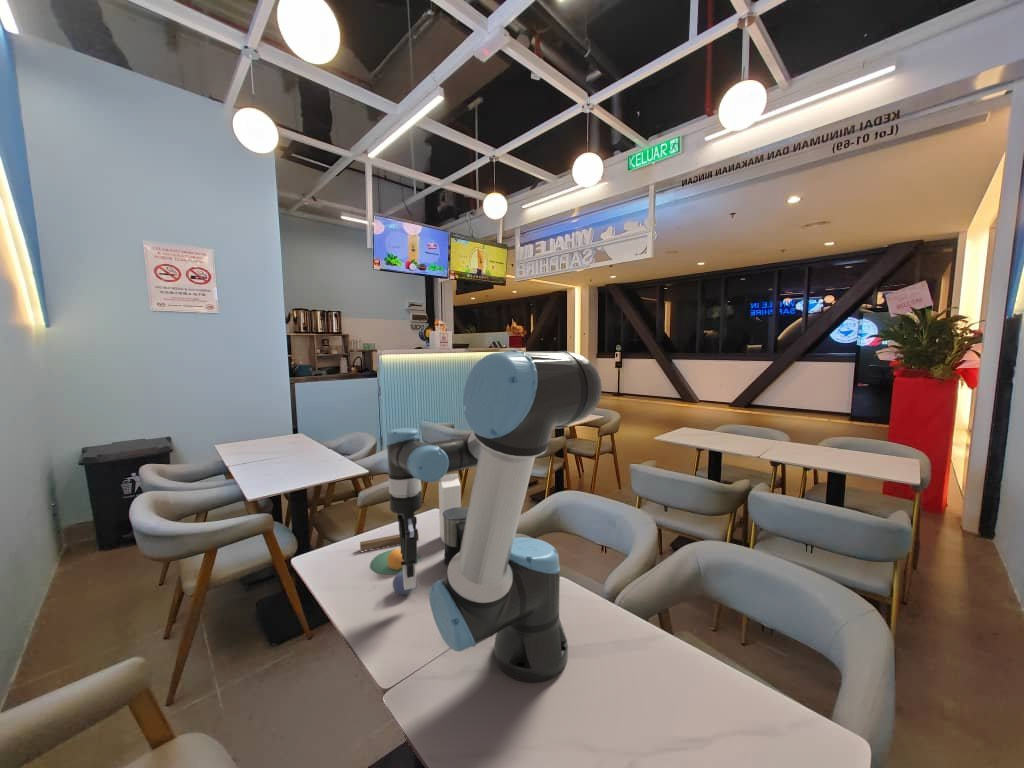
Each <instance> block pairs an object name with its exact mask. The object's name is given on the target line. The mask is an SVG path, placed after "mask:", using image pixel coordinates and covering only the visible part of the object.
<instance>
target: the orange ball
mask: <svg viewBox="0 0 1024 768" xmlns="http://www.w3.org/2000/svg"><path fill="white" fill-rule="evenodd" d="M392 550H393V551H392V552H391V553H390V554H389V555H388V558H387V563H388V565H389V567H390V568H391V569H394V570H398V569H401V568H402V567H403V566H401V562H403V561H404V560H403V559H402V554H401V548H397V549H396V548H395V550H394V549H392Z"/></svg>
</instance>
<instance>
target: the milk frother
mask: <svg viewBox="0 0 1024 768" xmlns="http://www.w3.org/2000/svg"><path fill="white" fill-rule="evenodd" d="M468 508H469V507H465V506H461V507H455V508H450V509H447V510H445V511H444V512H443V516H444V543H443V544H444V553H443V554H444V557H443V563H444V565H446V566H447V567H448V566H449V563H450V561H451V559H452V558H453V557H454V556H455V555H456V554H457V553H459V552H460V549H461V543H462V538H463V533H464V528H465V523H466V518H467V513H468Z"/></svg>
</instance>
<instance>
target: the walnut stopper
mask: <svg viewBox="0 0 1024 768" xmlns="http://www.w3.org/2000/svg"><path fill="white" fill-rule="evenodd" d="M417 540H418V541H420V540H419V531H418V532H417ZM397 544H399V545H400V533H399V534H394V535H393V534H392V535H388V536H384V537H379V538H373V539H368V540H363V541H359V546H360V547H359V549H360V550H361V551H365V550H370V549H375V550H378V549H377V548H380V549H383V547H385V548H388V547H387V546H389V547H394V546H398V545H397ZM393 545H394V546H393ZM361 551H360V552H361ZM370 551H371V550H370ZM365 552H366V551H365Z"/></svg>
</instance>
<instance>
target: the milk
mask: <svg viewBox="0 0 1024 768" xmlns="http://www.w3.org/2000/svg"><path fill="white" fill-rule="evenodd" d="M459 479H460V478H459V474H458V473H451V474H450V473H448V474H445V475H444V476H443V477H442V478H441V479H439V480H438V509H439V512H438V513H439V514H438V515H439V538H440V539H441V541H442V543H443V544H444V516H443V512H444V511H445V510H447V509H450V508H455V507H462V491H461V490H462V486H461V483H460V480H459Z"/></svg>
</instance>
